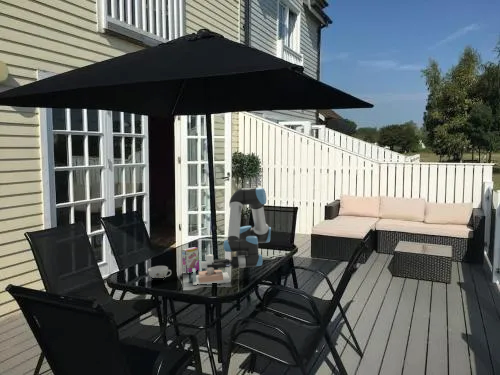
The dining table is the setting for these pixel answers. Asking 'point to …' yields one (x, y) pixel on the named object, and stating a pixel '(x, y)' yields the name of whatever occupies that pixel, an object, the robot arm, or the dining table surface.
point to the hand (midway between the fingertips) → (201, 265)
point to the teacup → (159, 272)
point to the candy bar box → (190, 259)
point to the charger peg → (209, 260)
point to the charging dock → (210, 277)
